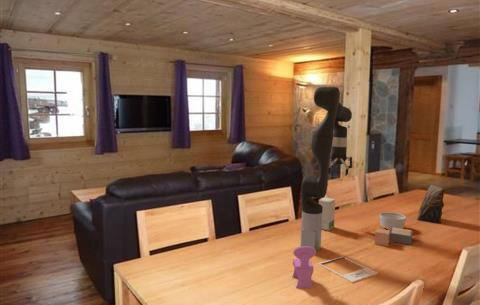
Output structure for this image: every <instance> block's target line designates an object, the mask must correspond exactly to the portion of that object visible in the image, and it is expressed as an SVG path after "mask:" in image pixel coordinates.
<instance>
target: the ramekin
mask: <svg viewBox="0 0 480 305" xmlns="http://www.w3.org/2000/svg"><path fill="white" fill-rule="evenodd" d="M406 221H407V217H406V216H405V215H404V214H402V213H401V214H400V213H398V212H392V211H391V212H390V211H388V212H387V211H385V212H381V213H379V225H380V227H381V226H382V227H384V228H389V229H391V227H392V228H399V229H402V228H403V229H404V228H405V225H406ZM382 227H381V228H382ZM384 228H383V229H384Z"/></svg>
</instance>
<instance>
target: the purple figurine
mask: <svg viewBox="0 0 480 305" xmlns="http://www.w3.org/2000/svg"><path fill="white" fill-rule="evenodd" d="M292 253H293V255H294V256H295V257H296V258H293V259H292V266H293V267H294V269H293V274H292V276H291V277H292V278H293V277H296V278H295V279H297V277H298V279H297V284H296V286H295V288H296V289H314V286H313V282H312V276H313V273H314V265H313V264H312V261H311V259H312V258H314V256H316V254H317V251H316V250H315V249H314V248H312V247H309V246H302V247H300V246H298V247H296V248H295V249H293V252H292ZM293 279H294V278H293Z"/></svg>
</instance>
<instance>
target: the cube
mask: <svg viewBox="0 0 480 305" xmlns="http://www.w3.org/2000/svg"><path fill="white" fill-rule="evenodd" d="M374 233H375V234H374V245H378V246H384V247H389V243H390V241H389V235H390V230H386V229H384V228H376V229H375V231H374Z"/></svg>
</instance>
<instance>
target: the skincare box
mask: <svg viewBox="0 0 480 305" xmlns="http://www.w3.org/2000/svg"><path fill="white" fill-rule="evenodd" d="M318 203H319V204H320V205H322V207H323V212H322V230H323V231H330V230H332V229H333V228H335V218H336V217H335V215H336V198H329V197H324V198H319V199H318Z"/></svg>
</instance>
